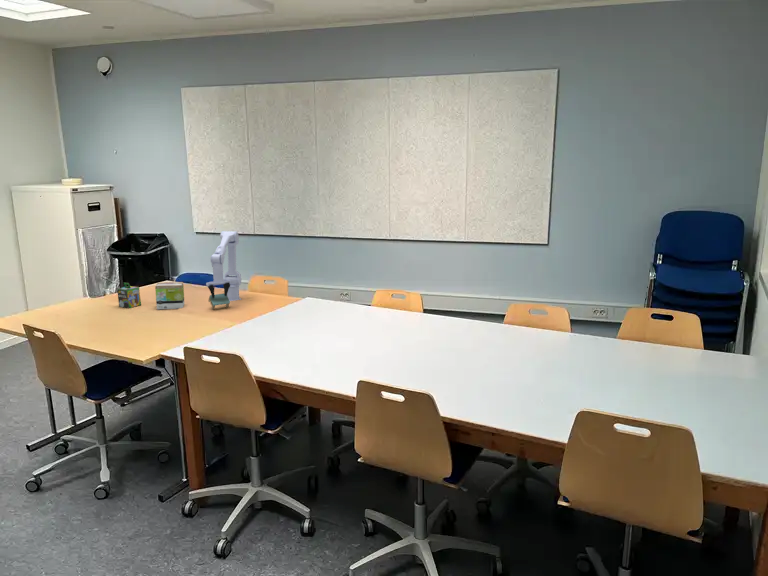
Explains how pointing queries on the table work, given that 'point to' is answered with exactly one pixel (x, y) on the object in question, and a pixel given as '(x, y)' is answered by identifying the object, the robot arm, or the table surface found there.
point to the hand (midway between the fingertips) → (219, 296)
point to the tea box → (169, 295)
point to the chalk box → (128, 296)
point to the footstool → (219, 300)
